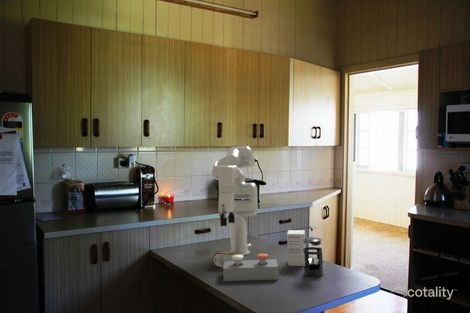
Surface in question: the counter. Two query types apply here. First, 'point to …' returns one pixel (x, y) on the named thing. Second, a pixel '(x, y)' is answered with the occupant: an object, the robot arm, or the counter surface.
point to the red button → (262, 258)
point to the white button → (237, 259)
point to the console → (250, 270)
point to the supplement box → (296, 247)
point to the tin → (222, 257)
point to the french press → (313, 269)
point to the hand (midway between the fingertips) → (227, 224)
